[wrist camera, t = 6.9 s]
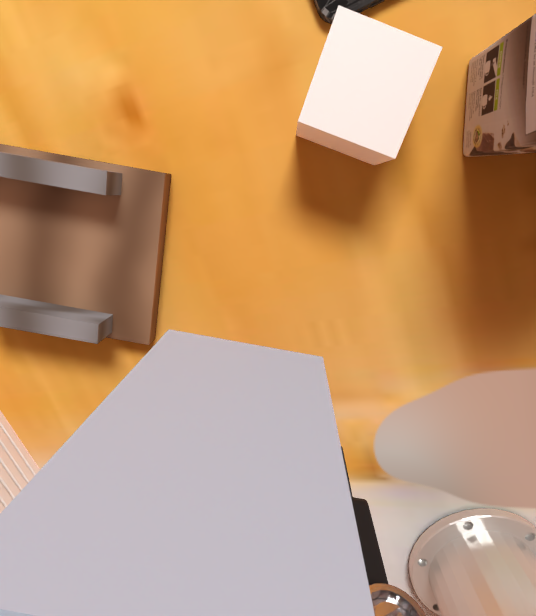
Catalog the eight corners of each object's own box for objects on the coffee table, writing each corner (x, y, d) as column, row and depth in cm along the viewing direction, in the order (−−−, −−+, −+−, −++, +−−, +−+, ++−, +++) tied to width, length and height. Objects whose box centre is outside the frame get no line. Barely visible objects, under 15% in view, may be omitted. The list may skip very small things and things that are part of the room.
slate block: (322, 356, 13) (387, 681, 4) (288, 510, 15) (285, 969, 6) (168, 329, 13) (-74, 594, 4) (151, 485, 15) (-51, 905, 6)
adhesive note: (373, 165, 29) (395, 159, 23) (295, 135, 29) (297, 121, 23) (410, 76, 27) (443, 46, 22) (327, 44, 27) (338, 4, 21)
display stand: (171, 174, 30) (153, 171, 26) (155, 338, 33) (137, 357, 30) (-44, 136, 30) (-94, 127, 26) (-37, 304, 33) (-80, 319, 30)
